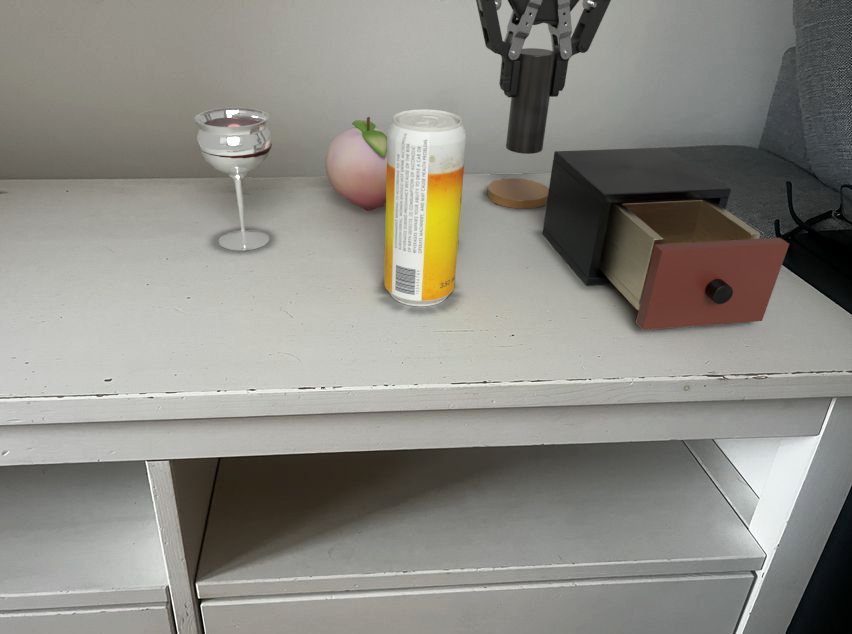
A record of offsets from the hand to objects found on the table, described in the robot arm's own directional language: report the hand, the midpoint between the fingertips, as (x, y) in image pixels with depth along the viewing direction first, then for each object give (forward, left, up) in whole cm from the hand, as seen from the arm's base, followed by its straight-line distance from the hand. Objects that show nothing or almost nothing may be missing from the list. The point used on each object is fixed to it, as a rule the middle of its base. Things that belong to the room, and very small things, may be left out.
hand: (531, 94), depth 76 cm
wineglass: (+31, +8, -12) cm, 34 cm away
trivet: (0, 0, -11) cm, 11 cm away
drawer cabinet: (-5, +16, -11) cm, 20 cm away
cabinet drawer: (-5, +26, -11) cm, 29 cm away
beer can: (+16, +21, -12) cm, 29 cm away
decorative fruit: (+18, +2, -12) cm, 22 cm away
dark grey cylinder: (0, 0, -6) cm, 6 cm away
